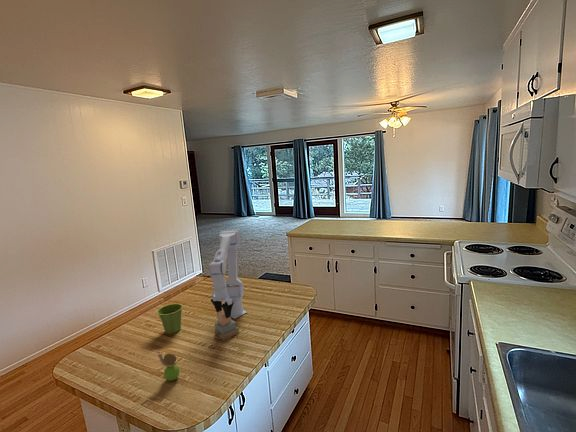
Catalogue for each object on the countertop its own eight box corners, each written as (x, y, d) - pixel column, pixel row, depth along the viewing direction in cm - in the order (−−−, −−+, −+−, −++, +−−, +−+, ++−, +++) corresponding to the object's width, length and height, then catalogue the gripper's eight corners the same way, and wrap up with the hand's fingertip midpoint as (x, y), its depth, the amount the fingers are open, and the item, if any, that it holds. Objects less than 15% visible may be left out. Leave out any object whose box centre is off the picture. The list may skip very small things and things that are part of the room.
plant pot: (190, 328, 150) (187, 307, 148) (167, 339, 141) (163, 317, 139) (178, 321, 158) (175, 301, 156) (156, 332, 149) (152, 310, 148)
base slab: (215, 335, 142) (214, 329, 142) (229, 327, 148) (229, 322, 147) (224, 341, 136) (223, 335, 136) (239, 333, 142) (238, 327, 141)
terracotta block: (217, 322, 142) (216, 312, 141) (226, 318, 144) (225, 308, 144) (222, 325, 138) (221, 315, 137) (231, 321, 141) (230, 311, 140)
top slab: (215, 328, 142) (214, 322, 142) (228, 323, 146) (228, 317, 146) (222, 334, 137) (221, 328, 136) (236, 328, 141) (235, 322, 141)
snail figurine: (164, 375, 116) (159, 346, 114) (181, 373, 116) (177, 344, 114) (160, 385, 111) (154, 355, 109) (178, 383, 111) (173, 353, 109)
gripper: (204, 286, 141) (208, 313, 143) (220, 294, 131) (224, 323, 133) (217, 281, 146) (221, 308, 148) (234, 288, 136) (238, 316, 138)
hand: (223, 314), depth 141 cm, fingers open, 7 cm apart
